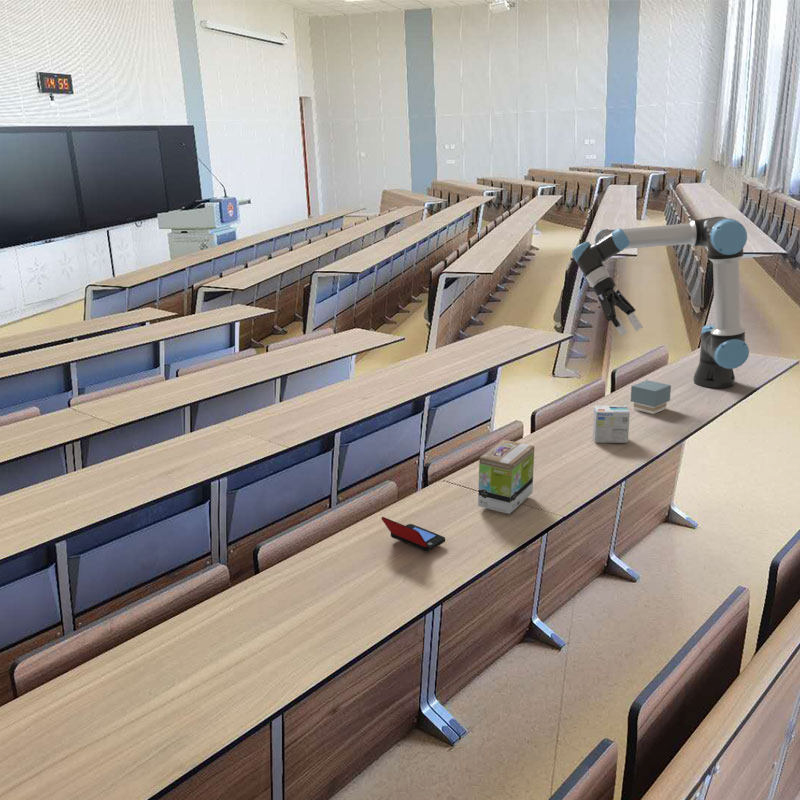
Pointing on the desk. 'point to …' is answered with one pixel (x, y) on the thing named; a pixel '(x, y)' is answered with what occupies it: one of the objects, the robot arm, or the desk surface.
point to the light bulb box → (611, 424)
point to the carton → (649, 408)
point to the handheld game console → (414, 535)
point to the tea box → (505, 476)
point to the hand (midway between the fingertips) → (632, 331)
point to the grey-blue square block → (650, 393)
